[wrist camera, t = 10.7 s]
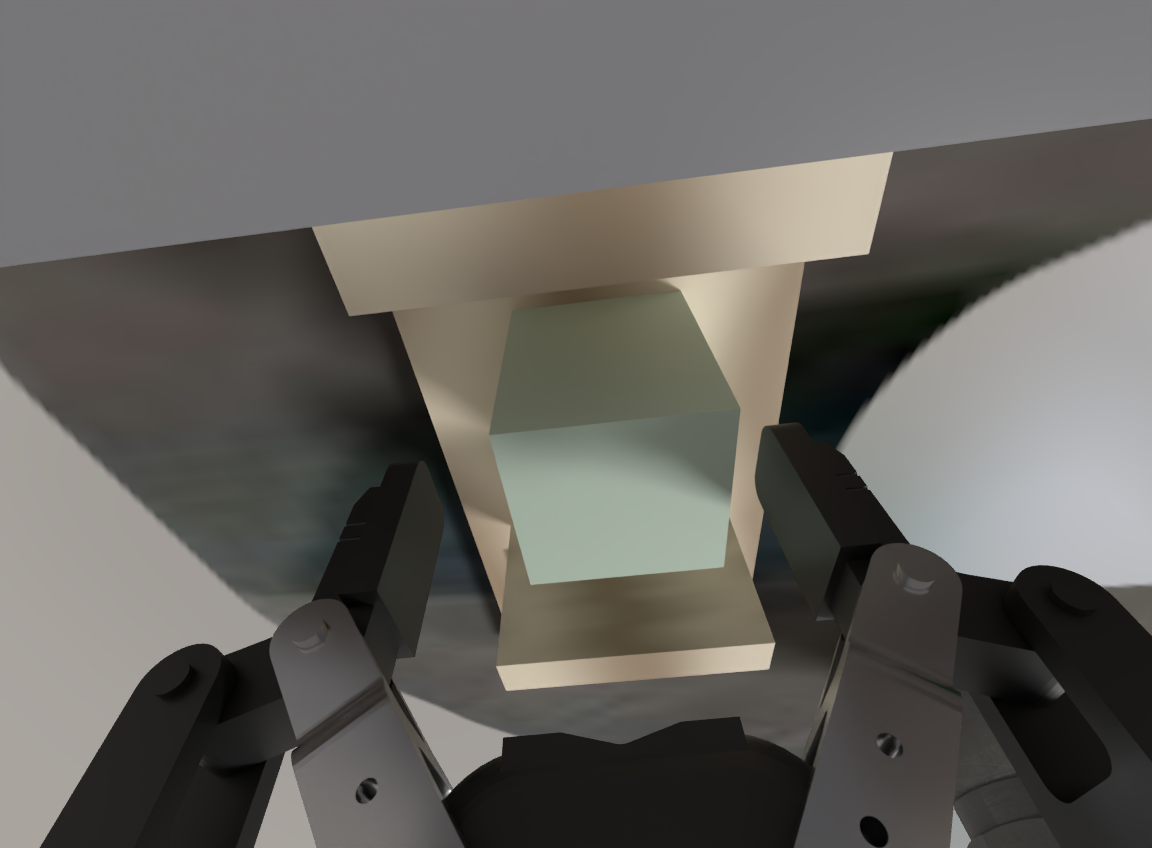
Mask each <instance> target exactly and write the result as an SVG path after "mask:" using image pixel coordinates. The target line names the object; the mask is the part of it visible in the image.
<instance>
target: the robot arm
mask: <svg viewBox="0 0 1152 848" xmlns="http://www.w3.org/2000/svg"><path fill="white" fill-rule="evenodd" d="M755 487H756V492H757V496H758V499H759V501H760V503H761V506H762V508H763V510H764V512H765V514H766V516H767V518H768V520H769V523H770V525H771V527H772V529H773V531H774V533H775V535H776V537H777V540H778V542H779V544H780V546H781V548H782V550H783V552H784V555H785V557H786V559H787V561H788V563H789V565H790V567H791V569H792V572H793V574H794V576H795V578H796V580H797V582H798V584H799V586H800V589H801V591H802V593H803V595H804V597H805V599H806V601H807V603H808V606H809V608H810V610H811V612H812V614H813V616H814V618H815V621H822V620H832V619H835V620H836V622H837V624H838V626H839V628H840V630H841V634H840V637H839V639H838V643H837V646H836V649H835V653H834V656H833V660H832V663H831V666H830V670H829V673H828V677H827V680H826V683H825V687H824V690H823V693H822V697H821V700H820V704H819V707H818V710H817V714H816V717H815V720H814V723H813V726H812V729H811V732H810V734H809V737H808V740H807V743H806V746H805V749H804V752H803V756H802V759H800V758H799V757H797V756H796V755H794V754H792V753H791V752H789V751H787V750H786V749H784V748H782V747H780V746H778V745H776V744H773V743H771V742H769V741H766V740H763V739H760V738H757V737H754V736H750V735H745V734H744V731H743V727H742V724H741V720H740V717H729V718H718V719H707V720H696V721H685V722H679V723H677V724H674V725H672V726H669V727H667V728H664V729H662V730H659V731H657V732H654V733H652V734H649V735H647V736H644V737H642V738H639V739H637V740H634V741H632V742H629V743H626V744H614V743H609V742H604V741H599V740H594V739H590V738H585V737H580V736H575V735H570V734H565V733H550V734H539V735H528V736H516V737H505V738H503V747H502V756H500V757H498V758H495V759H493V760H491V761H489V762H488V763H486V764H484V765H482V766H480V767H479V768H478V769H476V770H475V771H474V772H472V773H471V774H469V775H468V776H467V777H466V778H465V779H464V780H463V781H461V782H460V783H459V784H458V785H457V786H456V787H455V788H454V789H453V788H452V786H451V784H450V783H449V781H448V779H447V777H446V775H445V774H444V772H443V770H442V768H441V767H440V765H439V763H438V762H437V760H436V758H435V757H434V755H433V753H432V751H431V749H430V748H429V746H428V744H427V742H426V740H425V738H424V736H423V734H422V733H421V731H420V729H419V727H418V725H417V723H416V721H415V719H414V717H413V716H412V713H411V711H410V710H409V708H408V706H407V704H406V702H405V700H404V698H403V696H402V694H401V692H400V691H399V689H398V687H397V685H396V683H395V681H394V679H393V678H392V674H393V670H394V666H395V662H396V659H399V658H409V657H415V653H416V649H417V644H418V640H419V635H420V631H421V627H422V622H423V618H424V613H425V609H426V604H427V600H428V596H429V591H430V587H431V582H432V578H433V573H434V569H435V565H436V560H437V556H438V551H439V547H440V542H441V538H442V534H443V528H444V514H443V508H442V505H441V502H440V499H439V496H438V494H437V491H436V488H435V486H434V483H433V480H432V478H431V475H430V472H429V470H428V467H427V465H426V463H425V462H424V461H415V462H405V463H395V464H391V465H389V467H388V469H387V471H386V473H385V476H384V478H383V481H382V484H381V486H380V487H372V488H369V489H368V490H367V491H366V493H365V494H364V495H363V496H362V497H361V498H360V499H359V500H358V501H357V502H356V503H355V504H354V506H353V509H352V511H351V513H350V516H349V518H348V520H347V523H346V524H347V526H346V527H344V529H343V532H342V534H341V536H340V542H338V543H337V545H336V548H335V550H334V552H333V555H332V557H331V559H330V561H329V564H328V566H327V568H326V571H325V573H324V575H323V577H322V580H321V582H320V584H319V587H318V589H317V591H316V593H315V596H314V598H313V600H312V602H310V603H307V604H305V605H303V606H302V607H300V608H298V609H297V610H295V611H294V612H292V613H291V614H290V615H289V616H288V617H287V618H286V619H285V620H284V621H283V622H282V623H281V624H280V625H279V627H278V628H277V630H276V631H275V633H274V635H273V637H271V638H269V639H267V640H264V641H261V642H259V643H256V644H253V645H251V646H248V647H246V648H243V649H241V650H238V651H235V652H233V653H230V654H227V655H225V656H224V655H223V654H222V653H221V652H220V651H219V650H218V649H217V648H215V647H214V646H212V645H209V644H195V645H191V646H188V647H185V648H182V649H180V650H178V651H176V652H174V653H173V654H171V655H169V656H167V657H166V658H164V659H163V660H162V661H160V662H159V663H158V664H157V665H155V666H154V667H153V668H152V669H151V670H150V671H149V672H148V673H147V674H146V675H145V676H144V678H143V679H142V680H141V681H140V683H139V684H138V686H137V687H136V689H135V690H134V692H133V694H132V695H131V697H130V699H129V700H128V702H127V704H126V705H125V707H124V709H123V710H122V712H121V714H120V715H119V717H118V719H117V720H116V722H115V723H114V725H113V727H112V729H111V730H110V732H109V733H108V735H107V737H106V739H105V740H104V742H103V744H102V745H101V747H100V749H99V750H98V752H97V753H96V755H95V757H94V758H93V760H92V762H91V763H90V765H89V767H88V768H87V770H86V772H85V774H84V775H83V777H82V779H81V780H80V782H79V783H78V785H77V787H76V788H75V790H74V792H73V794H72V795H71V797H70V798H69V800H68V802H67V804H66V805H65V807H64V808H63V810H62V812H61V813H60V815H59V817H58V818H57V820H56V822H55V823H54V825H53V827H52V828H51V830H50V832H49V833H48V835H47V837H46V838H45V840H44V842H43V843H42V845H41V847H40V848H254V845H255V842H256V839H257V836H258V833H259V830H260V827H261V824H262V821H263V818H264V815H265V812H266V809H267V806H268V803H269V799H270V796H271V794H272V791H273V788H274V784H275V781H276V778H277V775H278V772H279V769H280V766H281V763H282V760H283V757H284V754H285V752H286V751H288V750H290V749H292V748H295V747H297V746H298V747H297V748H296V749H294V750H293V751H292V753H291V759H292V766H293V770H294V774H295V777H296V780H297V783H298V787H299V790H300V793H301V797H302V800H303V803H304V807H305V810H306V813H307V817H308V820H309V823H310V827H311V830H312V833H313V837H314V840H315V843H316V847H317V848H950V840H951V829H952V818H953V807H954V797H955V786H956V775H957V764H958V753H959V742H960V732H961V721H962V708H963V703H962V696H961V693H960V692H959V691H958V690H962V691H967V692H969V694H970V696H971V697H972V699H973V701H974V702H975V704H976V706H977V707H978V709H979V711H980V712H981V714H982V716H983V718H984V719H985V721H986V723H987V724H988V726H989V728H990V729H991V731H992V733H993V734H994V736H995V738H996V739H997V741H998V743H999V744H1000V746H1001V748H1002V750H1003V751H1004V753H1005V755H1006V756H1007V758H1008V760H1009V761H1010V763H1011V765H1012V766H1013V768H1014V770H1015V771H1016V773H1017V775H1018V776H1019V778H1020V780H1021V782H1022V783H1023V785H1024V787H1025V788H1026V790H1027V792H1028V793H1029V795H1030V797H1031V798H1032V800H1033V802H1034V803H1035V805H1036V807H1037V808H1038V810H1039V812H1040V814H1041V815H1042V817H1043V819H1044V820H1045V822H1046V824H1047V825H1048V827H1049V829H1050V830H1051V832H1052V834H1053V835H1054V837H1055V839H1056V840H1057V842H1058V844H1059V846H1060V847H1061V848H1152V636H1151V635H1150V634H1149V633H1148V632H1147V631H1146V630H1145V629H1144V628H1143V627H1142V626H1141V624H1140V623H1139V622H1138V621H1137V620H1136V619H1135V618H1134V617H1133V616H1132V615H1131V614H1130V613H1129V612H1128V611H1127V610H1126V609H1125V608H1124V607H1123V606H1122V605H1121V604H1120V603H1119V602H1118V601H1117V600H1116V599H1115V598H1114V597H1113V596H1112V595H1111V594H1110V593H1109V592H1108V591H1106V590H1105V589H1104V588H1103V587H1101V586H1100V585H1098V584H1097V583H1095V582H1093V581H1091V580H1090V579H1088V578H1086V577H1084V576H1082V575H1080V574H1077V573H1075V572H1072V571H1069V570H1066V569H1063V568H1059V567H1054V566H1046V565H1045V566H1043V565H1038V566H1031V567H1028V568H1026V569H1024V570H1022V571H1021V572H1020V573H1019V575H1018V576H1017V577H1016V579H1015V580H1014V582H1008V581H1003V580H997V579H991V578H985V577H979V576H973V575H967V574H962V573H958V572H955V570H954V569H953V568H952V567H951V566H950V565H949V564H948V563H947V562H946V561H945V560H943V559H942V558H941V557H939V556H938V555H936V554H935V553H933V552H931V551H929V550H926V549H924V548H921V547H918V546H915V545H911V544H910V543H909V542H908V541H907V540H906V538H905V537H904V536H903V534H902V533H901V532H900V530H899V529H898V527H897V526H896V525H895V523H894V522H893V521H892V519H891V518H890V517H889V515H888V514H887V512H886V511H885V510H884V508H883V507H882V506H881V504H880V503H879V502H878V500H877V499H876V498H875V496H874V495H873V494H872V492H871V491H870V490H868V489H867V485H866V484H865V483H864V481H863V480H862V479H861V477H860V476H857V472H856V470H855V469H854V468H853V466H852V465H851V464H850V462H849V461H848V460H847V458H846V457H845V455H843V454H842V453H840V452H839V451H837V450H836V449H834V448H833V447H831V446H830V445H829V444H827V443H826V442H818V443H814V442H813V441H812V439H811V438H810V436H809V435H808V434H807V432H806V431H805V429H804V428H803V426H802V425H801V424H800V423H787V424H778V425H768V426H764V427H763V429H762V432H761V438H760V444H759V451H758V457H757V463H756V470H755ZM956 689H958V690H956Z"/></svg>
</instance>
